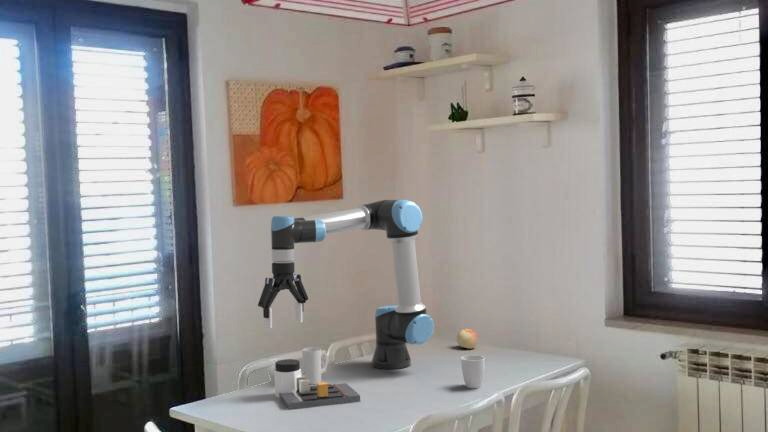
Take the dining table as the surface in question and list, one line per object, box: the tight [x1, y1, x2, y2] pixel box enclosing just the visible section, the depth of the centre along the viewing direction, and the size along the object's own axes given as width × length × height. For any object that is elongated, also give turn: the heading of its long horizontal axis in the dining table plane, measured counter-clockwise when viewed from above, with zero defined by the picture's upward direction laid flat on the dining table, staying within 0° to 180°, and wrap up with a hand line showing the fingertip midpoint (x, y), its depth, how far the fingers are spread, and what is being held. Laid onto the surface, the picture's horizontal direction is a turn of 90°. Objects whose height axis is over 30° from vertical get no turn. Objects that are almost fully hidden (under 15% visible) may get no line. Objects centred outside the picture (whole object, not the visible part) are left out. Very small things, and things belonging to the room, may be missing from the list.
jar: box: [273, 358, 302, 399], centre depth 275 cm, size 9×8×12 cm
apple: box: [456, 328, 479, 350], centre depth 344 cm, size 9×9×8 cm
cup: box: [460, 354, 486, 389], centre depth 282 cm, size 8×8×10 cm
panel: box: [278, 374, 361, 411], centre depth 271 cm, size 24×17×7 cm
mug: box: [301, 346, 329, 385], centre depth 293 cm, size 10×7×12 cm, turn 127°
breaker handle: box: [316, 381, 329, 397], centre depth 265 cm, size 3×3×4 cm
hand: (284, 324), depth 273 cm, fingers open, 13 cm apart
